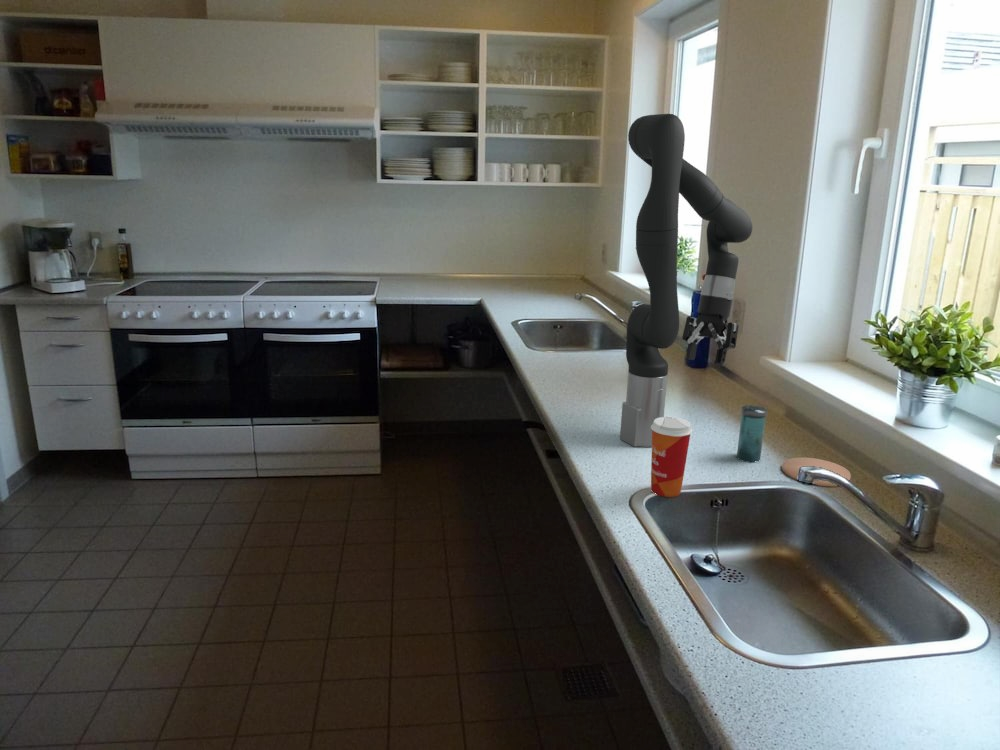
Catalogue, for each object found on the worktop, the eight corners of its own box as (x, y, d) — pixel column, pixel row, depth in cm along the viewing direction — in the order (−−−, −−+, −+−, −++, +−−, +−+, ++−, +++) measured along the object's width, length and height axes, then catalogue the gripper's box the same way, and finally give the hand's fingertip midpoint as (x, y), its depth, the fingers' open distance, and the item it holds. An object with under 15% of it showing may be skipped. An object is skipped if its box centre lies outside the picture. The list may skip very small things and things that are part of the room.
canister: (748, 464, 168) (754, 413, 164) (730, 455, 172) (736, 406, 169) (766, 460, 170) (772, 410, 167) (748, 452, 175) (754, 403, 172)
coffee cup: (642, 482, 156) (648, 415, 152) (681, 483, 156) (688, 416, 152) (649, 499, 148) (655, 428, 144) (690, 500, 148) (697, 430, 144)
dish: (819, 490, 154) (820, 486, 154) (768, 467, 166) (768, 462, 166) (864, 480, 160) (865, 475, 160) (811, 457, 172) (812, 453, 172)
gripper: (683, 291, 181) (671, 356, 183) (731, 296, 170) (718, 365, 171) (703, 295, 186) (691, 359, 187) (751, 300, 174) (738, 368, 176)
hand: (704, 362), depth 179 cm, fingers open, 8 cm apart
